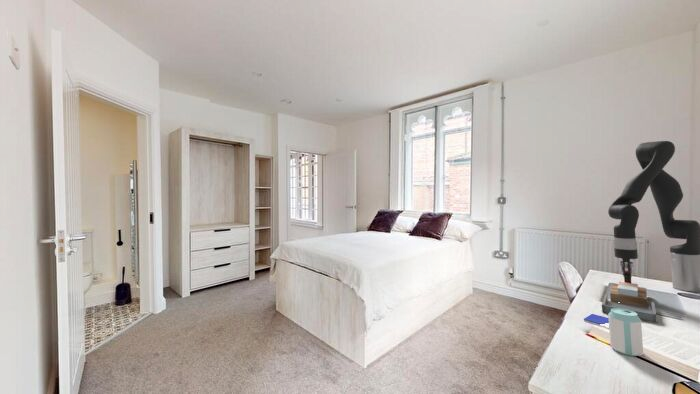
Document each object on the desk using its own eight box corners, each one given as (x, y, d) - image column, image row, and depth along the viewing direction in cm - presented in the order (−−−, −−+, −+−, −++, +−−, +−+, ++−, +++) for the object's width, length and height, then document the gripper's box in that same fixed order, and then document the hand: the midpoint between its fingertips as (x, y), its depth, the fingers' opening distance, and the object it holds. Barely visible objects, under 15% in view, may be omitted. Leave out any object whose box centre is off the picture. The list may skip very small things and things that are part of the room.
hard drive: (637, 324, 96) (592, 313, 106) (629, 331, 92) (583, 318, 102) (637, 329, 96) (592, 317, 106) (629, 335, 92) (584, 322, 102)
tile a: (619, 286, 125) (618, 281, 125) (638, 289, 121) (637, 284, 121) (618, 290, 121) (618, 284, 121) (638, 293, 117) (637, 287, 117)
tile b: (618, 290, 121) (618, 284, 121) (637, 293, 117) (637, 287, 117) (617, 293, 117) (617, 288, 117) (637, 296, 113) (637, 290, 113)
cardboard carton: (613, 291, 131) (612, 283, 131) (646, 296, 123) (646, 287, 123) (610, 302, 118) (610, 293, 118) (647, 308, 110) (647, 298, 110)
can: (609, 342, 87) (606, 305, 87) (640, 349, 83) (638, 310, 83) (611, 352, 82) (609, 313, 82) (645, 360, 77) (642, 318, 77)
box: (605, 301, 119) (604, 294, 120) (654, 309, 109) (654, 302, 109) (602, 312, 109) (601, 305, 109) (656, 323, 98) (656, 314, 98)
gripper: (637, 250, 117) (640, 290, 117) (637, 246, 126) (640, 283, 126) (613, 249, 123) (615, 287, 123) (614, 244, 132) (617, 280, 132)
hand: (628, 284), depth 124 cm, fingers closed
